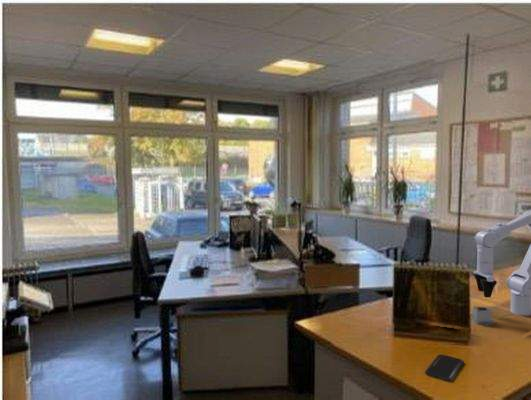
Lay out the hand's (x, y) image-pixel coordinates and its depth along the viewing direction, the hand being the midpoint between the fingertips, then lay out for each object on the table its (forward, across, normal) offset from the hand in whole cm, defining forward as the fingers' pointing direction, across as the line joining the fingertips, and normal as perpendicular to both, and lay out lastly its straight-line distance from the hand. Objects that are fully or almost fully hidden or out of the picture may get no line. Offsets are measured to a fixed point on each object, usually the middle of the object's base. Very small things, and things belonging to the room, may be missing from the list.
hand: (484, 294), depth 167 cm
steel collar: (+9, +7, -3) cm, 11 cm away
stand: (+10, -2, -1) cm, 10 cm away
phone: (+10, +46, -25) cm, 53 cm away
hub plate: (+10, +7, -2) cm, 12 cm away
